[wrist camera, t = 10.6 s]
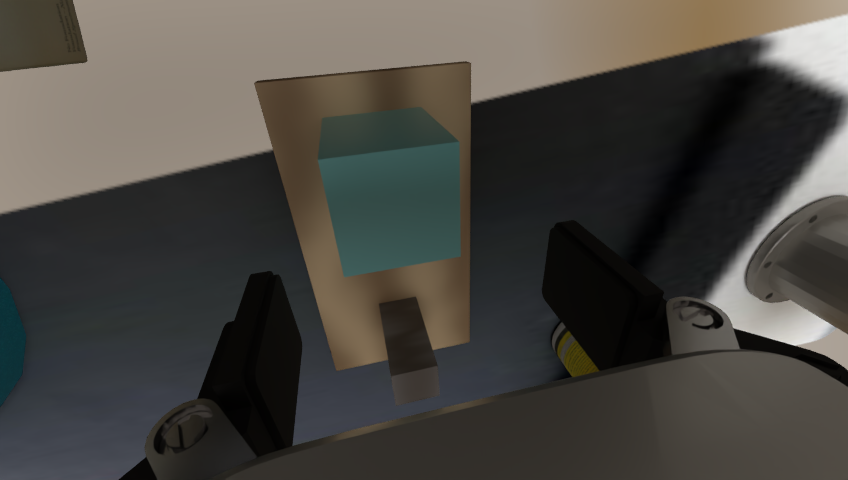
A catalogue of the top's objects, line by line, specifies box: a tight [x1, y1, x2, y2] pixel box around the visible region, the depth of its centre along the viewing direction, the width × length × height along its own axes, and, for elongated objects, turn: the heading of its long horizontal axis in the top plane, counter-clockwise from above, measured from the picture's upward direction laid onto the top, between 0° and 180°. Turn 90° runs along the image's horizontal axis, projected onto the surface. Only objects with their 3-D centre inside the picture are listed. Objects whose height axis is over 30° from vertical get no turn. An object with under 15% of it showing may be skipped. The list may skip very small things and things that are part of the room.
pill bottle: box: [552, 322, 599, 377], centre depth 32 cm, size 6×6×11 cm
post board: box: [254, 62, 471, 406], centre depth 23 cm, size 12×23×8 cm, turn 4°
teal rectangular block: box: [318, 107, 461, 277], centre depth 19 cm, size 6×6×8 cm
